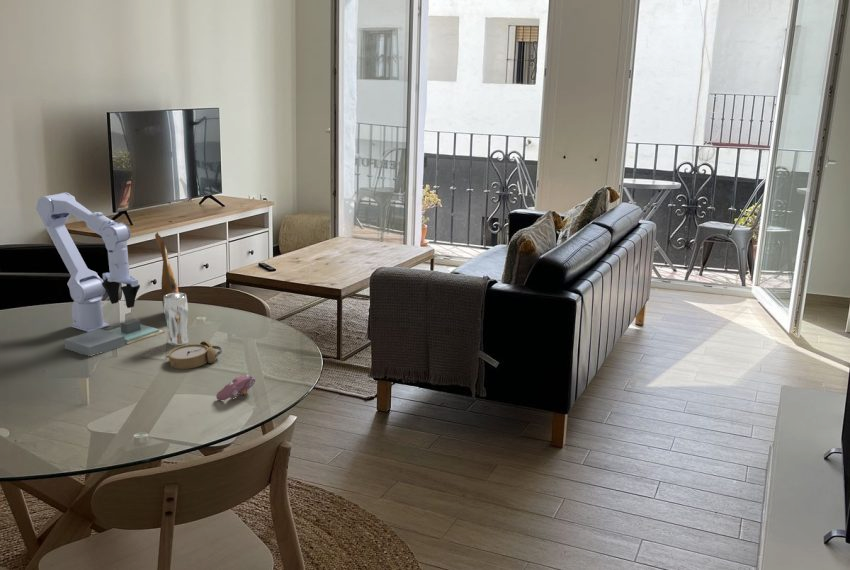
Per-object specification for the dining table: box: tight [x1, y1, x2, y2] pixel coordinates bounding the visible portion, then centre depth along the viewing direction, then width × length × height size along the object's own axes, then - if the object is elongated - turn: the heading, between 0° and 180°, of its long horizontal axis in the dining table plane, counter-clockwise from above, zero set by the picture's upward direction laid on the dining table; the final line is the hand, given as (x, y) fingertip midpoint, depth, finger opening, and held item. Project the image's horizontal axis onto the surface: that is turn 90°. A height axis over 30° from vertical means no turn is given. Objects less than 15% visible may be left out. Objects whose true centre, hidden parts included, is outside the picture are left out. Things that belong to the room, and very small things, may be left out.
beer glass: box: [163, 292, 190, 347], centre depth 251 cm, size 7×7×15 cm
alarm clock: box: [166, 340, 223, 370], centre depth 238 cm, size 11×5×15 cm
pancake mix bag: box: [154, 231, 180, 310], centre depth 273 cm, size 7×19×28 cm, turn 17°
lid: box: [108, 318, 160, 342], centre depth 259 cm, size 12×12×4 cm
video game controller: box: [215, 373, 256, 401], centre depth 213 cm, size 10×5×7 cm, turn 149°
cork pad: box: [125, 329, 166, 345], centre depth 260 cm, size 14×14×1 cm
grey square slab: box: [64, 328, 126, 357], centre depth 247 cm, size 12×12×3 cm
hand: (122, 305), depth 257 cm, fingers open, 7 cm apart
